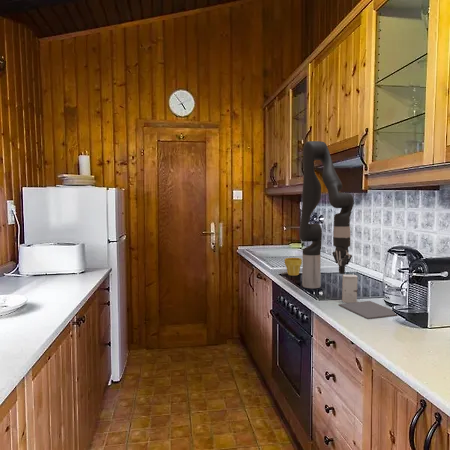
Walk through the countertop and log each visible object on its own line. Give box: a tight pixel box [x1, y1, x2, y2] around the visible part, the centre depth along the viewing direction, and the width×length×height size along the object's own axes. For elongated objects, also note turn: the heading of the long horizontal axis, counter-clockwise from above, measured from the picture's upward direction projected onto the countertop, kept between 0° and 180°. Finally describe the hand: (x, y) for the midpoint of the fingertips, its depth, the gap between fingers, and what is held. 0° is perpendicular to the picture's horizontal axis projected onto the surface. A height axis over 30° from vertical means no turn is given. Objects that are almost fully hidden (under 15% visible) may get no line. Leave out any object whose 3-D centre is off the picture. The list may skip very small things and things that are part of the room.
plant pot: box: [284, 257, 303, 277], centre depth 233 cm, size 10×10×10 cm
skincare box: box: [341, 273, 358, 304], centre depth 171 cm, size 6×4×12 cm
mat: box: [338, 300, 397, 320], centre depth 158 cm, size 20×16×1 cm
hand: (341, 273), depth 176 cm, fingers closed
